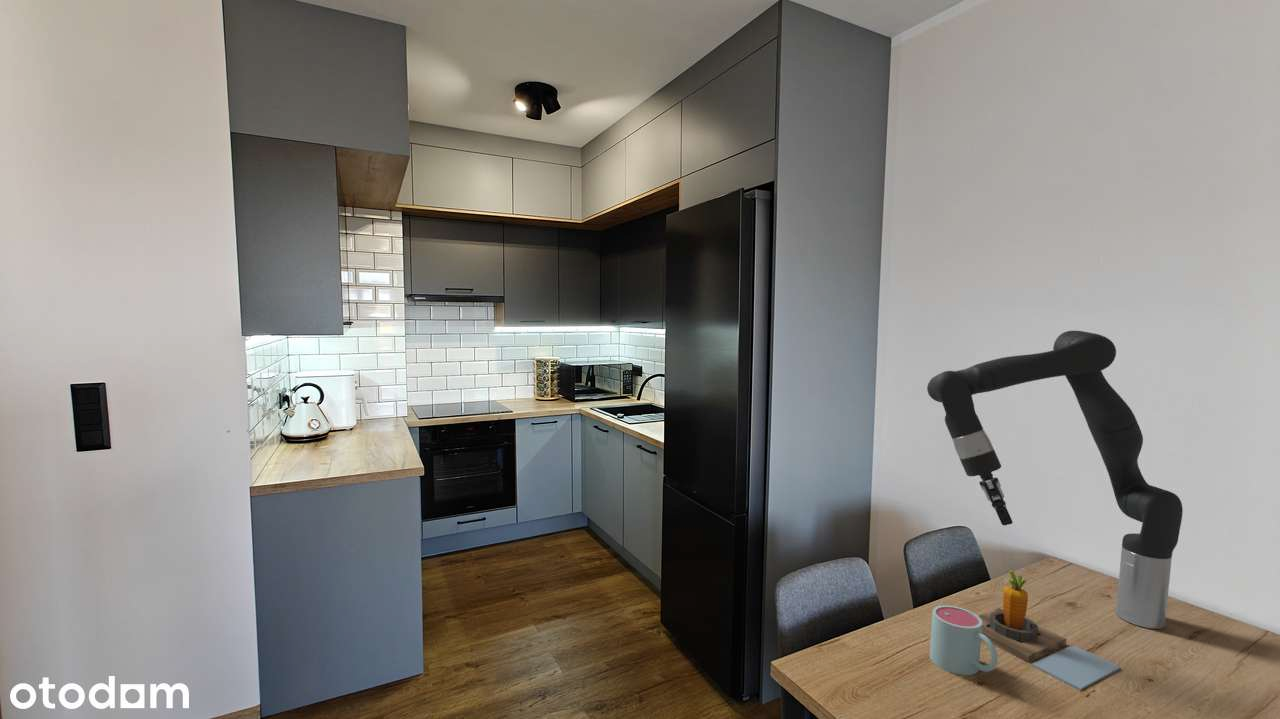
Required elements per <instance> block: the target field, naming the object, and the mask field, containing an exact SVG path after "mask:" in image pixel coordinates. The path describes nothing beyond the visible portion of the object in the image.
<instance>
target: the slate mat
mask: <svg viewBox="0 0 1280 719" xmlns="http://www.w3.org/2000/svg"><path fill="white" fill-rule="evenodd" d="M1031 666H1032V667H1034V668H1036V669H1038V670H1039V671H1042V672H1044V673H1046V674H1047V675H1050V676H1052V677H1054V678H1055V679H1058V680H1059V681H1062V682H1064V683H1065V684H1067V685H1069V686H1071V687H1073V688H1075V689H1076V690H1079V691H1082V690H1084V689H1085V688H1087V687H1089V686H1091V685H1093V684H1095V683H1096V682H1098V681H1100V680H1102V679H1105V678H1106V677H1108V676H1110V675H1112V674H1113V673H1115V672H1117V671H1119V670H1121V666H1119V665H1117V664H1115V663H1112V662H1110V661H1108V660H1106V659H1104V658H1101V657H1100V656H1097V655H1095V654H1093V653H1091V652H1089V651H1087V650H1084V649H1083V648H1080V647H1078V646H1075V645H1073V644H1071V645H1069V646H1067V647H1065V648H1062V649H1061V650H1059V651H1057V652H1054V653H1052V654H1051V655H1048V656H1045V657H1044V658H1041V659H1039V660H1038V661H1035V662H1032V663H1031Z"/></svg>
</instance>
